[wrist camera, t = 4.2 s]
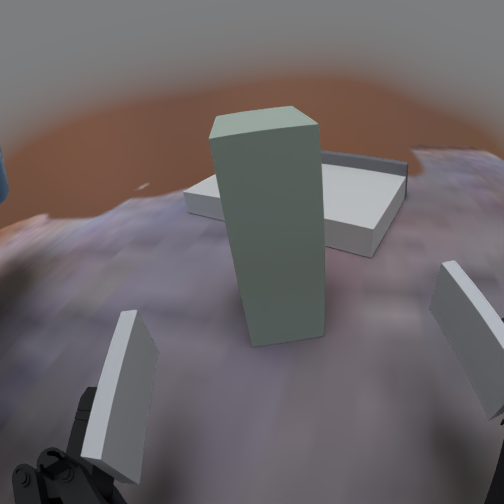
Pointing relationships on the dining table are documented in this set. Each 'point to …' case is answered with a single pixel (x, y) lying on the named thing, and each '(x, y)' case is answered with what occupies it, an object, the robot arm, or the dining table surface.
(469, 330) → the robot arm
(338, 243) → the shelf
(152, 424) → the dining table surface
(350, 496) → the dining table surface
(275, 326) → the carton
